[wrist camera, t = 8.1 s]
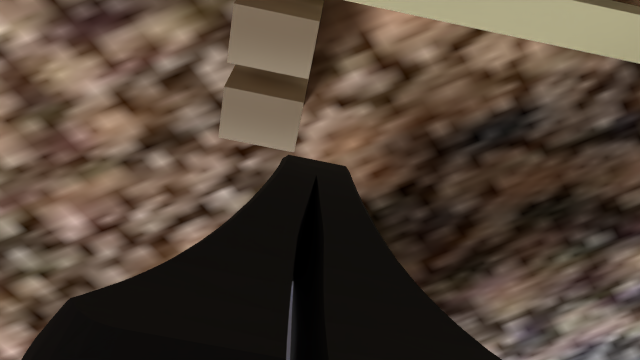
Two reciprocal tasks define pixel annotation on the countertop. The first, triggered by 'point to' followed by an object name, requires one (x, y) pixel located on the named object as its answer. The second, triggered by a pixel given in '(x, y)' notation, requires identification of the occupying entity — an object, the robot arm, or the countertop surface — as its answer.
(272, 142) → the comb
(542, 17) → the pale yellow bar
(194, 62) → the countertop surface
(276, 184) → the robot arm
